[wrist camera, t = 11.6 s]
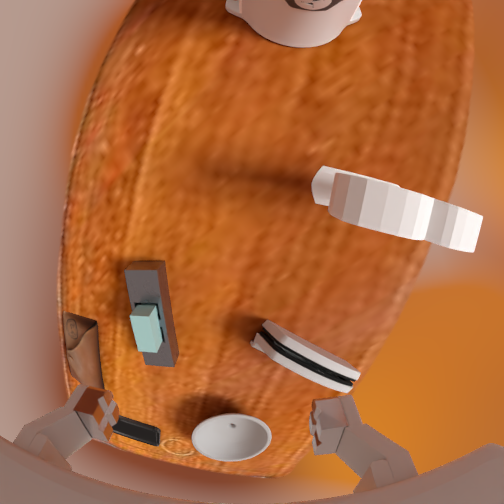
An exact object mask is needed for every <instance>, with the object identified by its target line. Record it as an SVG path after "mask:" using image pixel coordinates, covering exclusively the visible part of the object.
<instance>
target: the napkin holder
mask: <svg viewBox="0 0 504 504" xmlns="http://www.w3.org/2000/svg"><path fill="white" fill-rule="evenodd" d="M262 326H263V330H264V331H265V332H266V333H267V334H268V335H269V336H268V335H266V334H264V333H263V332H260V333H257V334H256V336H255V339H254V341H250V344H251V346H252V347H254V348H256V349H258V350H260V351H262V352H264V353H266V354H267V355H268V356H269V357H270V358H271V359H272V360H274V361H276V362H277V363H279V364H281V365H282V366H284V367H286V368H288V369H290V370H292V371H293V372H295V373H297V374H299V375H301V376H303V377H305V378H307V379H310V380H312V381H314V382H316V383H319V384H321V385H323V386H326V387H329V388H331V389H334V390H337V391H341V392H344V393H348V392H349V391H350V390H351V389H352V388H353V386H352V385H353V383H352V382H351V381H354V382H355V381H356V380H358V378H359V376H360V372H359V371H358V370H357V369H355V368H354V367H353V366H352V365H350V364H349V363H348V362H347V361H345V360H343V359H341V358H339V357H337V356H335V355H333V354H331V353H329V352H327V351H325V350H324V349H322V348H320V347H318V346H316V345H314V344H312V343H310V342H308V341H306V340H304V339H303V338H301V337H299V336H297V335H295V334H293V333H291V332H290V331H288V330H286V329H284V328H282V327H280V326H279V325H277V324H275V323H273V322H271V321H269V320H266V321H265V322H264V323H263V324H262ZM350 380H351V381H350Z"/></svg>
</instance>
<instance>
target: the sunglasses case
mask: <svg viewBox="0 0 504 504" xmlns="http://www.w3.org/2000/svg"><path fill="white" fill-rule="evenodd" d="M63 325H64V334H65V342H66V348H67V358H68V361H69V366H70V371H71V375H72V376H73V377H74V378H76V380H78V381H79V382H80V383H81V384H83V385H87V386H92V387H96V388H100V389H104V383H103V378H102V371H101V362H100V353H99V340H98V325H97V321H95V320H92V319H89V318H85V317H82V316H79V315H76V314H73V313H70V312H65V311H63Z"/></svg>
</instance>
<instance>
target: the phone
mask: <svg viewBox="0 0 504 504" xmlns="http://www.w3.org/2000/svg"><path fill="white" fill-rule="evenodd" d="M112 428H113V432H114V433H117V434H119V435H122V436H125V437H128V438H131V439H134V440H137V441H140V442H143V443H147V444H150V445H153V446H159V444H160V429H159V428H157V427H154V426H151V425H148V424H144V423H141V422H138V421H135V420H132V419H129V418H126V417H123V416H120V415H119V419H118V421H117V424H115V425H113V426H112Z"/></svg>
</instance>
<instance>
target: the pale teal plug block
mask: <svg viewBox="0 0 504 504" xmlns="http://www.w3.org/2000/svg"><path fill="white" fill-rule="evenodd" d="M158 313H159V307H158V303H141V305H137V306H136V307H135V309H134V310H133V312H132V313H131V314H130V319H131V324H132V328H133V332H134V336H135V340H136V344H137V347H138V351H142V352H154V353H157V352H158V349H159V347H160V345H161V343H162V341H163V340H162V335H163V329H162V327H160V326H159V320H158Z"/></svg>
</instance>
